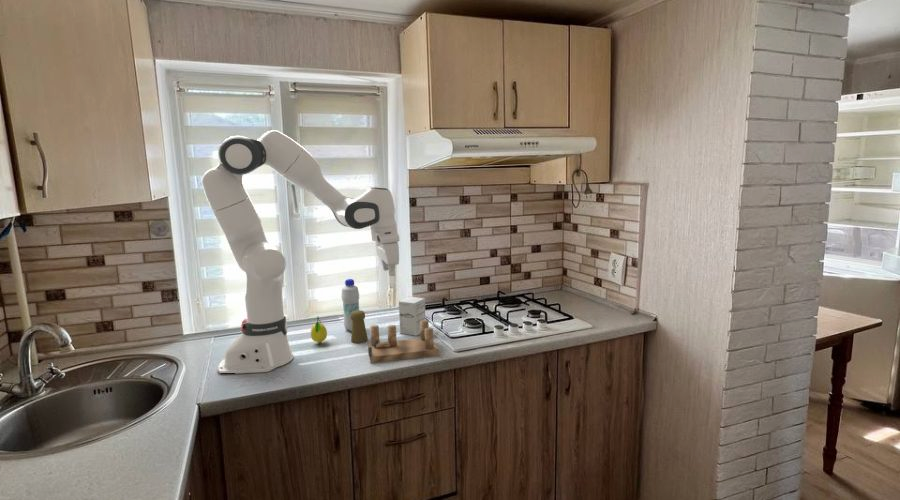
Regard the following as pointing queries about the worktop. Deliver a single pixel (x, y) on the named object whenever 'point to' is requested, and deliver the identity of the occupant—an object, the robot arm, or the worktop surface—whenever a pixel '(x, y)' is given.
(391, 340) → the folding leg
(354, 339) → the cork
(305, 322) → the worktop surface
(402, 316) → the supplement box
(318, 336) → the lemon
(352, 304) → the bottle
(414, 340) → the wooden peg board
